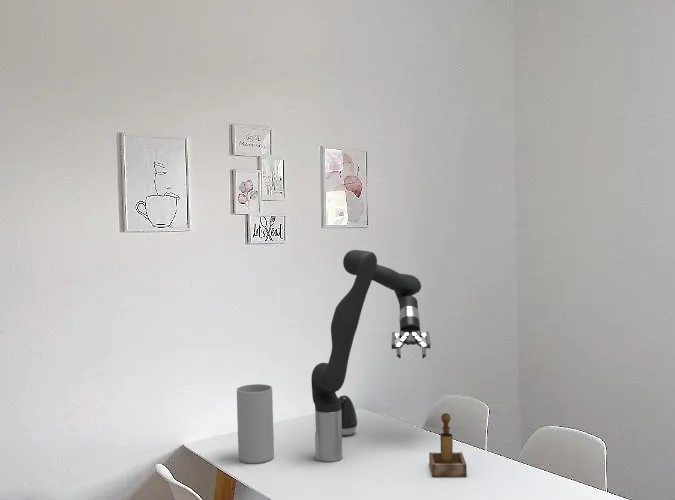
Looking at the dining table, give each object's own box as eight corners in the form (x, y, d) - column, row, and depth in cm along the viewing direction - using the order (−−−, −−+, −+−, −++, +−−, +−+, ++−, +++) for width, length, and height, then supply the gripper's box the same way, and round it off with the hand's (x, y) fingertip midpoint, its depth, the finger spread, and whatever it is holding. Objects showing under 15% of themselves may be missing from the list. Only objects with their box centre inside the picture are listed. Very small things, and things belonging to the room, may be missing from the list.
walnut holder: (432, 477, 221) (431, 464, 221) (429, 464, 233) (429, 452, 233) (466, 476, 221) (466, 464, 220) (462, 464, 233) (461, 452, 232)
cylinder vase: (231, 459, 243) (229, 389, 243) (258, 450, 253) (256, 382, 252) (254, 466, 235) (252, 394, 234) (281, 457, 244) (279, 387, 243)
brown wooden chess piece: (456, 471, 223) (455, 416, 223) (436, 470, 224) (435, 416, 224) (457, 464, 230) (455, 411, 229) (437, 463, 231) (436, 410, 230)
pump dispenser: (328, 437, 266) (327, 398, 266) (336, 429, 276) (335, 391, 276) (353, 438, 263) (352, 399, 263) (360, 430, 273) (359, 393, 273)
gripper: (390, 315, 257) (391, 351, 246) (428, 314, 256) (431, 350, 245) (390, 327, 262) (391, 363, 251) (428, 326, 261) (431, 362, 250)
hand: (411, 357), depth 248 cm, fingers open, 8 cm apart
